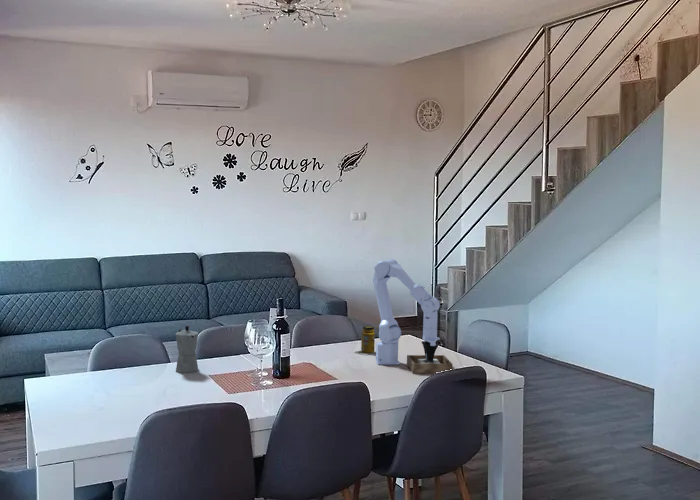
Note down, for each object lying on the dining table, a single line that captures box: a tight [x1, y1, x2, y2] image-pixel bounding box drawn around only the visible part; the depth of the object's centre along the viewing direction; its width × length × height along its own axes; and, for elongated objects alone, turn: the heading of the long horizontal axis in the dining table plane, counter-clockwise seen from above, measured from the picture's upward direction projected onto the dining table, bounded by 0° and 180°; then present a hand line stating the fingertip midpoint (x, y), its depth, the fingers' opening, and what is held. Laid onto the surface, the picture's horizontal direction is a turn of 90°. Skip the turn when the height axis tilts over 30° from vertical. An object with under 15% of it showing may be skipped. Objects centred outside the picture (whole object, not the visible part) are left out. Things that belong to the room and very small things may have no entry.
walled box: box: [406, 354, 454, 375], centre depth 292 cm, size 16×16×4 cm
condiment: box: [354, 325, 376, 356], centre depth 320 cm, size 7×8×12 cm
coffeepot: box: [175, 325, 199, 374], centre depth 282 cm, size 15×9×18 cm, turn 33°
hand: (429, 359), depth 292 cm, fingers open, 3 cm apart
